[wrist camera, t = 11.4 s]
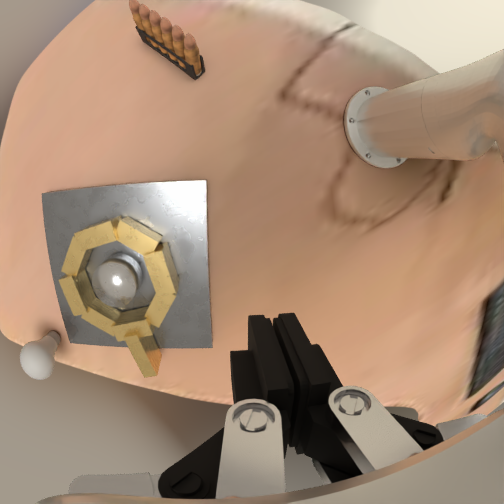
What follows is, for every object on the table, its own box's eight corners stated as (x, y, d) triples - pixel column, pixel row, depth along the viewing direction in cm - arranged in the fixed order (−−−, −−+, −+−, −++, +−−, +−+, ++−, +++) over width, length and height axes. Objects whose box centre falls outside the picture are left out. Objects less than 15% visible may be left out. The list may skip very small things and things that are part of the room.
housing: (206, 179, 36) (204, 181, 31) (212, 346, 43) (213, 370, 38) (48, 192, 33) (26, 197, 28) (76, 342, 41) (63, 362, 35)
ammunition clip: (142, 41, 29) (119, 1, 18) (152, 32, 29) (132, -10, 18) (195, 80, 32) (187, 45, 21) (205, 71, 32) (202, 33, 21)
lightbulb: (76, 346, 41) (52, 386, 30) (53, 351, 41) (28, 388, 30) (60, 316, 39) (29, 352, 28) (37, 323, 39) (7, 356, 28)
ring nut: (203, 346, 41) (202, 367, 36) (114, 362, 40) (105, 382, 35) (156, 204, 34) (147, 210, 29) (59, 236, 33) (41, 246, 29)
